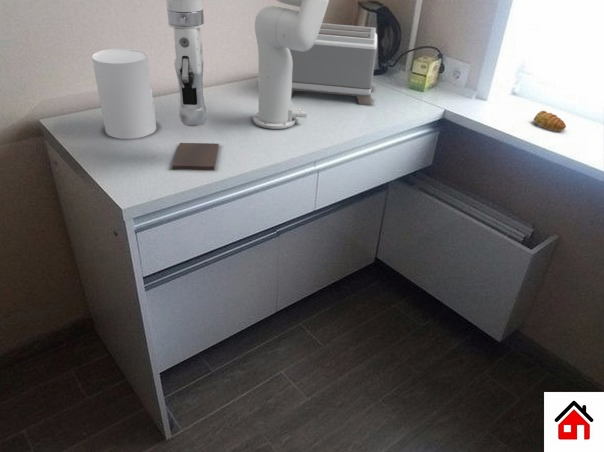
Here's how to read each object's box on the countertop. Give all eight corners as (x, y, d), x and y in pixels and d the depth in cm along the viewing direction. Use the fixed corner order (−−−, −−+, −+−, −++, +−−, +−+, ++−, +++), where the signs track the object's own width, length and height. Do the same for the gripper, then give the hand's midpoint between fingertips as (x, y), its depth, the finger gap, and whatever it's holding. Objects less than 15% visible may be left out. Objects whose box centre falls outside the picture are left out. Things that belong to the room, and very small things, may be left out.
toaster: (278, 77, 181) (280, 18, 170) (372, 86, 178) (380, 27, 167) (269, 95, 165) (269, 31, 154) (371, 105, 162) (380, 41, 151)
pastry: (569, 130, 153) (573, 118, 151) (555, 134, 150) (559, 122, 148) (543, 119, 160) (547, 108, 157) (529, 123, 157) (533, 111, 154)
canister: (157, 136, 134) (148, 62, 123) (104, 140, 131) (90, 64, 119) (155, 117, 145) (146, 47, 134) (106, 120, 141) (93, 49, 130)
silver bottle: (213, 123, 121) (208, 39, 110) (194, 132, 116) (187, 44, 105) (193, 117, 124) (187, 34, 113) (174, 125, 119) (165, 39, 108)
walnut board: (218, 146, 131) (218, 143, 130) (214, 170, 120) (213, 166, 120) (180, 146, 130) (180, 142, 130) (172, 169, 120) (172, 165, 119)
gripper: (198, 28, 100) (204, 113, 110) (207, 10, 114) (211, 88, 124) (161, 26, 99) (169, 112, 109) (174, 9, 113) (181, 87, 123)
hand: (191, 98), depth 117 cm, fingers closed on silver bottle, 5 cm apart
